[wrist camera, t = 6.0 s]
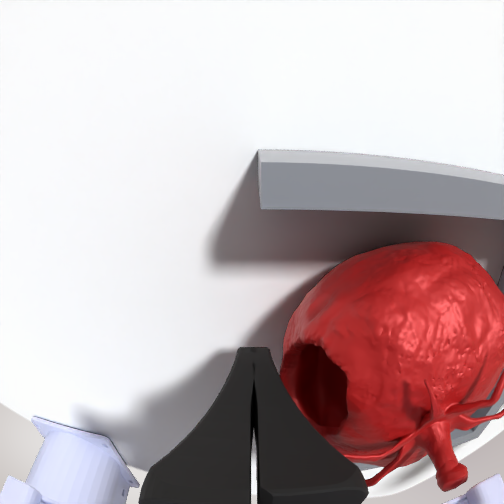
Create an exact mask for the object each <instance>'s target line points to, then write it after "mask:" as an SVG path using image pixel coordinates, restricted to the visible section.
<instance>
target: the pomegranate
mask: <svg viewBox="0 0 504 504" xmlns="http://www.w3.org/2000/svg"><path fill="white" fill-rule="evenodd" d="M503 368H504V295H503V293H502V292H501V291H500V289H499V288H498V287H497V285H496V284H495V283H494V281H493V279H492V277H491V276H490V275H489V274H488V272H487V271H486V270H485V269H483V267H481V265H480V264H479V263H477V262H476V260H475V259H473V257H472V256H471V255H470V254H468V253H466V252H464V251H463V250H461V249H459V248H458V247H456V246H453V245H450V244H447V243H442V242H433V241H428V242H426V241H418V242H406V243H398V244H394V245H389V246H385V247H381V248H378V249H375V250H372V251H369V252H366V253H362V254H358V255H355V256H353V257H351V258H349V259H348V260H346V261H344V262H342V263H340V264H339V265H337V266H336V267H335V268H334V269H333V270H331V271H330V272H329V273H328V274H326V275H325V276H324V277H323V278H322V279H321V280H320V281H319V282H318V284H317V285H316V286H315V287H314V288H313V289H311V290H310V291H309V292H308V293H307V294H306V295H305V297H304V299H303V300H302V302H301V303H300V305H299V306H298V308H297V309H296V310H295V311H294V313H293V314H292V317H291V318H290V320H289V322H288V326H287V329H286V332H285V336H284V342H283V358H282V364H281V367H280V375H279V376H280V378H281V380H282V382H283V384H284V386H285V388H286V389H287V391H288V393H289V395H290V396H291V398H292V399H293V401H294V402H295V404H296V405H297V407H298V408H299V410H300V411H301V412H302V414H303V415H304V416H305V417H306V419H307V420H308V421H309V422H310V423H311V425H312V426H313V427H314V428H315V429H316V430H317V431H318V432H319V433H320V434H321V435H322V436H323V437H324V438H325V439H326V440H327V441H328V442H329V443H330V444H331V445H332V446H333V447H334V448H335V449H336V450H337V451H339V452H340V453H341V454H342V455H344V456H345V457H346V458H347V459H349V460H350V461H351V462H353V463H364V464H370V465H376V466H380V467H384V468H383V469H382V470H381V471H380V472H379V473H378V474H376V475H375V476H374V477H372V478H370V479H367V480H365V482H366V484H367V487H370V486H373V485H375V484H376V483H378V482H379V481H380V480H381V479H382V478H383V477H384V476H385V475H387V474H388V473H390V472H391V471H393V470H395V469H396V468H398V467H403V466H407V465H409V464H412V463H414V462H417V461H419V460H420V459H422V458H423V457H424V456H426V455H427V454H428V455H429V457H430V459H431V460H432V462H433V464H434V466H435V468H436V470H437V472H436V479H437V484H438V486H439V487H440V489H441V490H442V491H444V492H446V491H449V490H451V489H454V488H456V487H458V486H459V485H461V484H463V483H464V482H466V481H467V478H468V471H467V467H466V466H464V465H463V464H461V463H458V461H457V458H456V456H455V454H454V451H453V447H452V441H451V435H450V433H451V432H452V431H454V430H455V429H459V430H463V431H467V430H469V429H471V428H473V427H475V426H477V425H479V424H481V423H484V422H487V421H489V420H493V419H499V418H501V417H502V416H503V415H504V409H503V410H502V411H501V412H499V413H498V414H495V415H490V416H485V417H480V418H471V417H470V416H471V415H472V414H473V413H474V412H475V411H476V410H478V409H481V408H487V407H490V406H492V405H494V404H495V403H496V402H497V401H498V400H499V399H500V396H501V394H502V392H503V389H504V371H503V373H502V375H501V377H500V379H499V381H498V383H497V385H496V387H495V389H494V392H493V394H492V396H491V398H490V399H489V400H486V398H487V397H488V395H489V394H490V392H491V390H492V389H493V388H494V386H495V384H496V382H497V380H498V378H499V376H500V374H501V372H502V370H503Z"/></svg>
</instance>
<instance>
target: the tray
mask: <svg viewBox="0 0 504 504" xmlns="http://www.w3.org/2000/svg"><path fill="white" fill-rule="evenodd" d="M258 186H259V196H260V206H261V209H288V210H341V211H371V212H395V213H415V214H432V215H448V216H462V217H475V218H487V219H499V220H504V175H501V174H496V173H491V172H487V171H482V170H476V169H471V168H466V167H460V166H454V165H448V164H442V163H435V162H428V161H421V160H413V159H405V158H397V157H388V156H378V155H367V154H355V153H341V152H325V151H303V150H258ZM498 288H499V289H500V291H501V292H502V293H503V295H504V268H503V271H502V274H501V278H500V281H499V284H498ZM503 371H504V368H503V370H502V372H501V374H500V376H499V378H498V380H497V382H496V384H495V386H494V388H493V389H492V390H491V392H490V394H489V395H488V397H487V398H486V400H489V399H490V398H491V396H492V394H493V392H494V389H495V387H496V385H497V383H498V381H499V379H500V377H501V375H502V373H503ZM503 403H504V389H503V392H502V394H501V396H500V399H499V400H498V401H497V402H496V403H495V404H494V405H492V406H490V407H487V408H481V409H478V410H476V411H475V412H474V413H473V414H472V415H471V416H470V417H471V418H480V417H485V416H490V415H495V414H496V413H497V411H498V410H499V409H500V407H501V406H502V404H503ZM490 421H491V420H489V421H487V422H484V423H481V424H479V425H477V426H475V427H473V428H471V429H469V430H467V431H463V430H459V429H455V430H454V431H452V432H451V433H450V435H451V441H452V447H454V446H457V445H459V444H462V443H465V442H467V441H470V440H473V439H475V438H478V437H479V435H480V434H481V433H482V432H483V430H484V429H485V428H486V426H487V425H488V424H489V422H490ZM427 455H428V454H427ZM354 464H356V465H357V466H358V467H359V469H360V471H362V470H368V469H373V468H378V467H380V466H376V465H370V464H364V463H354ZM256 480H257V451H256Z"/></svg>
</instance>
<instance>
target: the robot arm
mask: <svg viewBox="0 0 504 504" xmlns="http://www.w3.org/2000/svg"><path fill="white" fill-rule="evenodd" d="M31 421H32V423H33V424H34V425H35V427H36V428H37V429H38V431H39V432H40V433H41V435H42V436H43V437H44V438H45V440H44V442H43V444H42V447H41V449H40V451H39V453H38V455H37V457H36V459H35V462H34V464H33V466H32V468H31V470H30V473H29V475H28V477H27V480H26V482H25V483H24V482H22V481H20V480H18V479H16V478H14V477H12V476H8V478H7V480H6V482H5V484H4V487H3V489H2V491H1V494H0V504H126V500H127V496H128V491H129V488H130V487H136V488H138V487H139V485H140V484H139V483H138V482H137V480H136V479H135V477H134V476H133V474H132V473H131V472H130V470H129V469H128V467H127V466H126V464H125V463H124V461H123V460H122V458H121V457H120V455H119V454H118V452H117V451H116V449H115V447H114V446H113V444H112V443H111V441H110V440H109V438H107V437H105V436H102V435H97V434H93V433H89V432H85V431H81V430H77V429H73V428H70V427H66V426H63V425H59V424H56V423H53V422H50V421H46V420H43V419H40V418H37V417H32V419H31ZM253 430H254V432H255V441H256V451H257V504H361V503H362V502H363V501H364V499H365V498H366V497H367V495H368V493H369V492H368V487H367V484H366V482H365V479H364V477H363V475H362V473H361V471H360V469H359V467H358V466H357V465H356V464H354V463H353V462H351V461H350V460H349V459H347V458H346V457H345V456H344V455H342V454H341V453H340V452H339V451H337V450H336V449H335V448H334V447H333V446H332V445H331V444H330V443H329V442H328V441H327V440H326V439H325V438H324V437H323V436H322V435H321V434H320V433H319V432H318V431H317V430H316V429H315V428H314V427H313V426H312V425H311V423H310V422H309V421H308V420H307V419H306V417H305V416H304V415H303V414H302V412H301V411H300V410H299V408H298V407H297V405H296V404H295V402H294V401H293V399H292V398H291V396H290V395H289V393H288V391H287V389H286V388H285V386H284V384H283V382H282V380H281V378H280V376H279V374H278V372H277V370H276V368H275V365H274V363H273V360H272V357H271V354H270V349H268V348H267V347H240V348H239V349H238V351H237V356H236V359H235V362H234V364H233V367H232V369H231V372H230V374H229V376H228V378H227V380H226V382H225V384H224V386H223V388H222V389H221V391H220V393H219V395H218V396H217V398H216V400H215V401H214V403H213V404H212V406H211V407H210V409H209V410H208V411H207V413H206V414H205V416H204V417H203V418H202V419H201V421H200V422H199V423H198V424H197V425H196V427H195V428H194V429H193V430H192V431H191V432H190V433H189V435H188V436H187V437H186V438H185V439H184V440H183V441H181V442H180V443H179V444H178V445H177V446H176V447H175V448H174V449H173V450H172V451H171V452H170V453H169V454H167V455H166V456H165V457H163V458H162V459H161V460H160V461H158V462H157V463H156V464H154V465H153V466H152V467H151V468H150V470H149V472H148V474H147V476H146V478H145V480H144V483H143V485H142V488H141V493H140V498H139V504H251V449H252V439H253ZM442 504H504V483H503V480H502V478H501V476H500V474H499V473H498V474H495V475H493V476H492V477H490V478H488V479H486V480H484V481H482V482H480V483H478V484H476V485H475V486H473V487H472V488H471V489H470V490H469V491H467V493H466V494H464V495H462V496H459V497H457V498H454V499H452V500H450V501H447V502H445V503H442Z"/></svg>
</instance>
